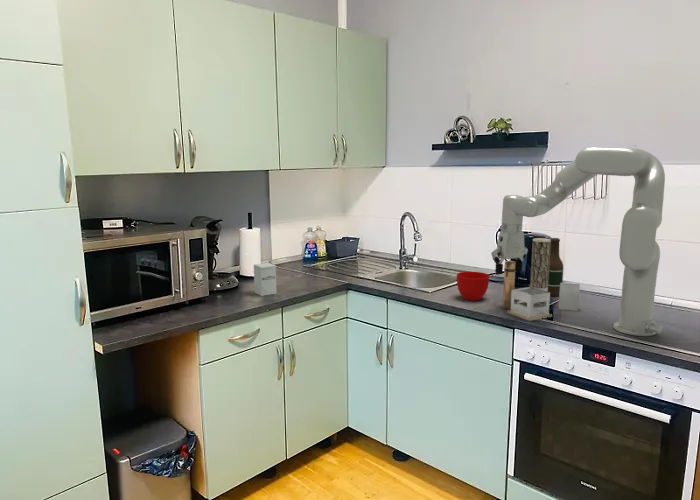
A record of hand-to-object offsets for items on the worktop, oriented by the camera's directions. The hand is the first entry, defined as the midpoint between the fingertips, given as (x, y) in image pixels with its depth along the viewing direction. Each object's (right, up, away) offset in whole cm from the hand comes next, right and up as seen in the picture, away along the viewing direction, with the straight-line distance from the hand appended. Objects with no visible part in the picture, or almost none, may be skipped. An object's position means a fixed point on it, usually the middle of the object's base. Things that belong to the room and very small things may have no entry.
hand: (508, 272), depth 198 cm
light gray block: (+23, -14, 0) cm, 27 cm away
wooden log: (+16, -12, +12) cm, 23 cm away
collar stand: (+5, -15, -8) cm, 18 cm away
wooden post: (0, -14, +2) cm, 14 cm away
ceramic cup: (-9, -11, +16) cm, 22 cm away
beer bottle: (+25, -10, +21) cm, 34 cm away
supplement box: (-97, -10, +25) cm, 101 cm away
